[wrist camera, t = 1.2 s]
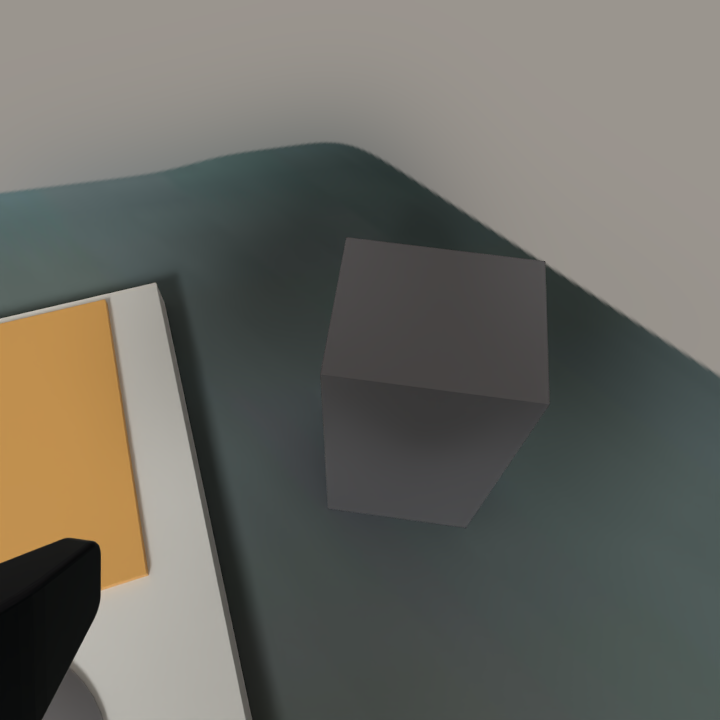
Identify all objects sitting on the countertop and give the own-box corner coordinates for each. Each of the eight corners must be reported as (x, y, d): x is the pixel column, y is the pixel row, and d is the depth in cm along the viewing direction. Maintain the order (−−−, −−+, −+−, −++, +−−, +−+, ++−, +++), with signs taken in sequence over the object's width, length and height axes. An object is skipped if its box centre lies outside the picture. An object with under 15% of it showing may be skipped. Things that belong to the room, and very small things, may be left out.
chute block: (466, 528, 22) (549, 404, 13) (327, 508, 22) (320, 374, 13) (470, 426, 24) (545, 261, 15) (344, 409, 24) (346, 237, 15)
